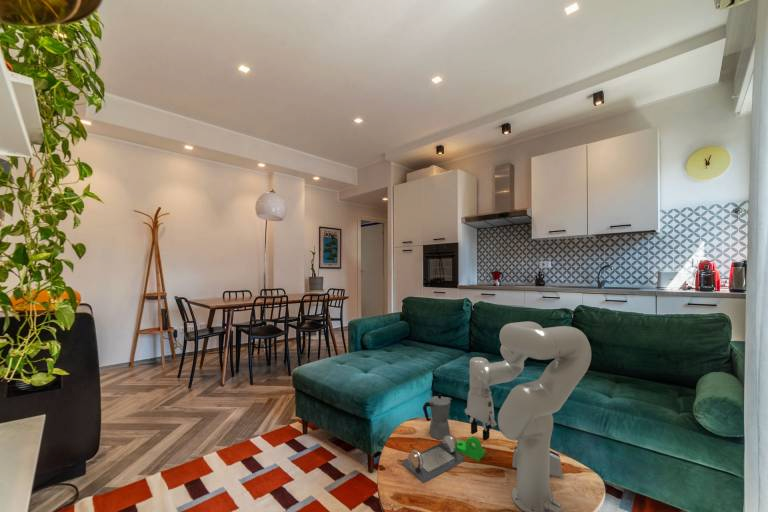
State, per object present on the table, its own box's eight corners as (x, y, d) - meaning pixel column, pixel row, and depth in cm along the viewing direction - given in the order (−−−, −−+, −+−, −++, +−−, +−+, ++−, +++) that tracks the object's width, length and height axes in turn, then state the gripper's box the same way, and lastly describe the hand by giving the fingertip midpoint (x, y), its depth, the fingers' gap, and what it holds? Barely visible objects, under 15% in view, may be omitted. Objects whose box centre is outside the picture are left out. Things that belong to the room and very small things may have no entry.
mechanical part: (485, 454, 130) (485, 434, 130) (479, 462, 125) (479, 441, 125) (458, 443, 137) (458, 424, 137) (451, 450, 133) (451, 430, 133)
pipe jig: (442, 445, 135) (442, 428, 135) (464, 461, 125) (464, 441, 125) (402, 464, 123) (402, 444, 123) (423, 482, 113) (423, 461, 113)
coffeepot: (444, 425, 151) (444, 387, 151) (458, 435, 143) (458, 394, 143) (417, 434, 144) (417, 393, 144) (429, 445, 136) (429, 402, 136)
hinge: (560, 472, 119) (561, 446, 118) (563, 482, 115) (563, 456, 114) (511, 462, 125) (512, 437, 124) (512, 471, 121) (512, 446, 119)
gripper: (504, 394, 124) (504, 442, 124) (468, 381, 138) (469, 424, 137) (491, 399, 119) (492, 449, 119) (456, 385, 133) (457, 429, 133)
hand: (480, 435), depth 128 cm, fingers open, 5 cm apart
